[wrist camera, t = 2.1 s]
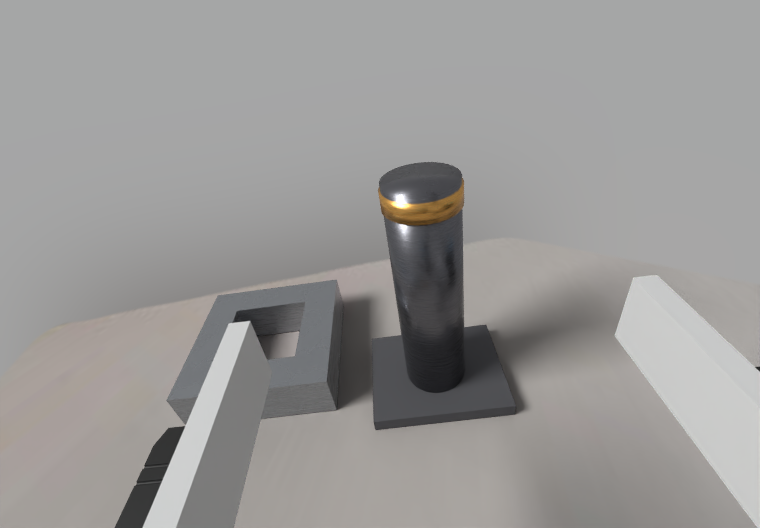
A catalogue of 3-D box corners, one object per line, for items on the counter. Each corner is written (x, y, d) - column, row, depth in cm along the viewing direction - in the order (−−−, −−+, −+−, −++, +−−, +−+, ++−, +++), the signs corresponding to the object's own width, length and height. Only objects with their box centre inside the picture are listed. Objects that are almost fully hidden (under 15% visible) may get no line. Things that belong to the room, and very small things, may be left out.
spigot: (459, 342, 32) (454, 157, 23) (472, 390, 28) (472, 189, 19) (403, 349, 32) (376, 168, 23) (408, 397, 28) (378, 203, 19)
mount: (485, 332, 34) (486, 324, 33) (515, 414, 27) (516, 405, 26) (373, 346, 34) (371, 338, 34) (375, 429, 28) (373, 421, 27)
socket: (343, 306, 39) (336, 279, 37) (336, 409, 29) (326, 381, 27) (230, 320, 40) (217, 295, 38) (187, 427, 30) (166, 400, 28)
